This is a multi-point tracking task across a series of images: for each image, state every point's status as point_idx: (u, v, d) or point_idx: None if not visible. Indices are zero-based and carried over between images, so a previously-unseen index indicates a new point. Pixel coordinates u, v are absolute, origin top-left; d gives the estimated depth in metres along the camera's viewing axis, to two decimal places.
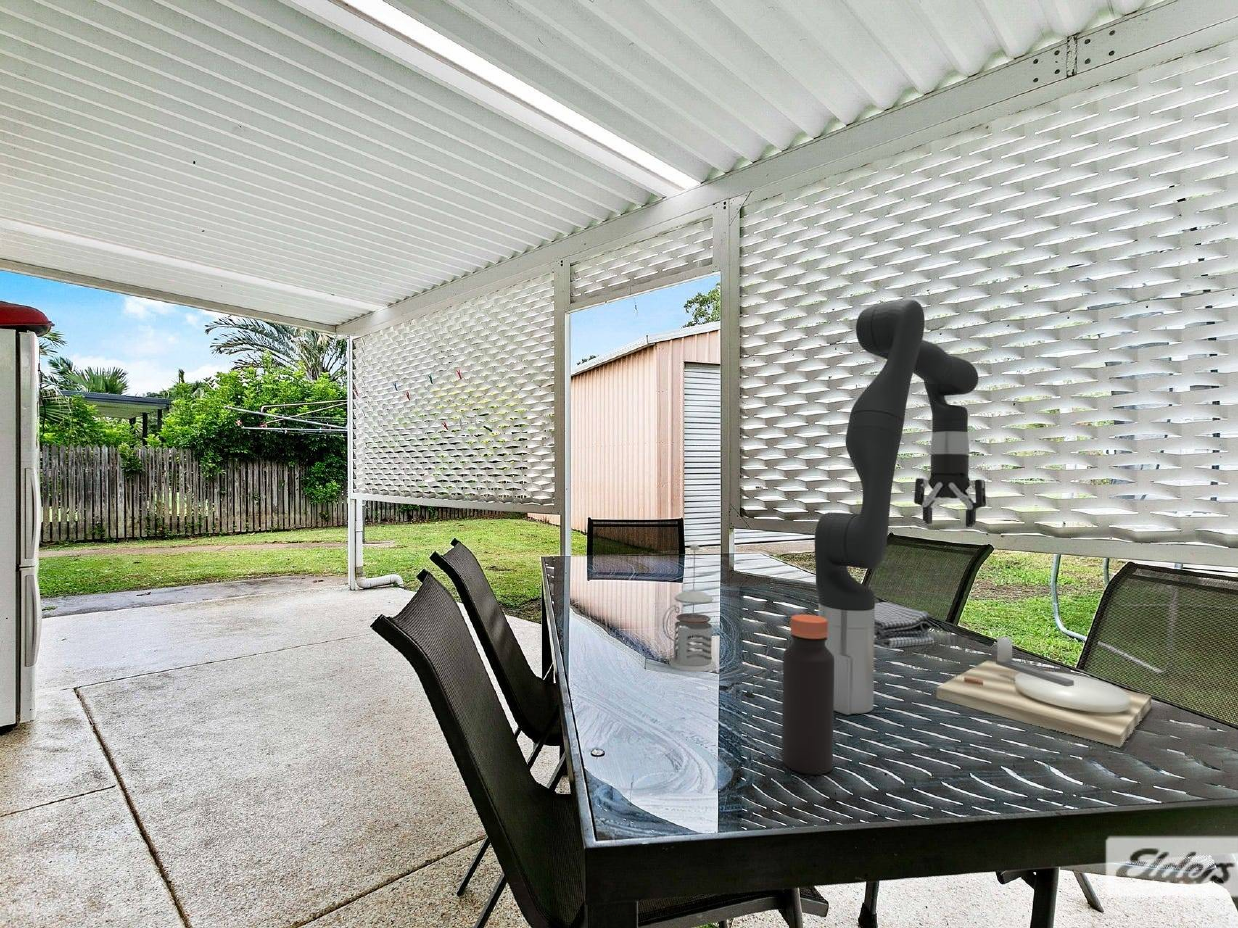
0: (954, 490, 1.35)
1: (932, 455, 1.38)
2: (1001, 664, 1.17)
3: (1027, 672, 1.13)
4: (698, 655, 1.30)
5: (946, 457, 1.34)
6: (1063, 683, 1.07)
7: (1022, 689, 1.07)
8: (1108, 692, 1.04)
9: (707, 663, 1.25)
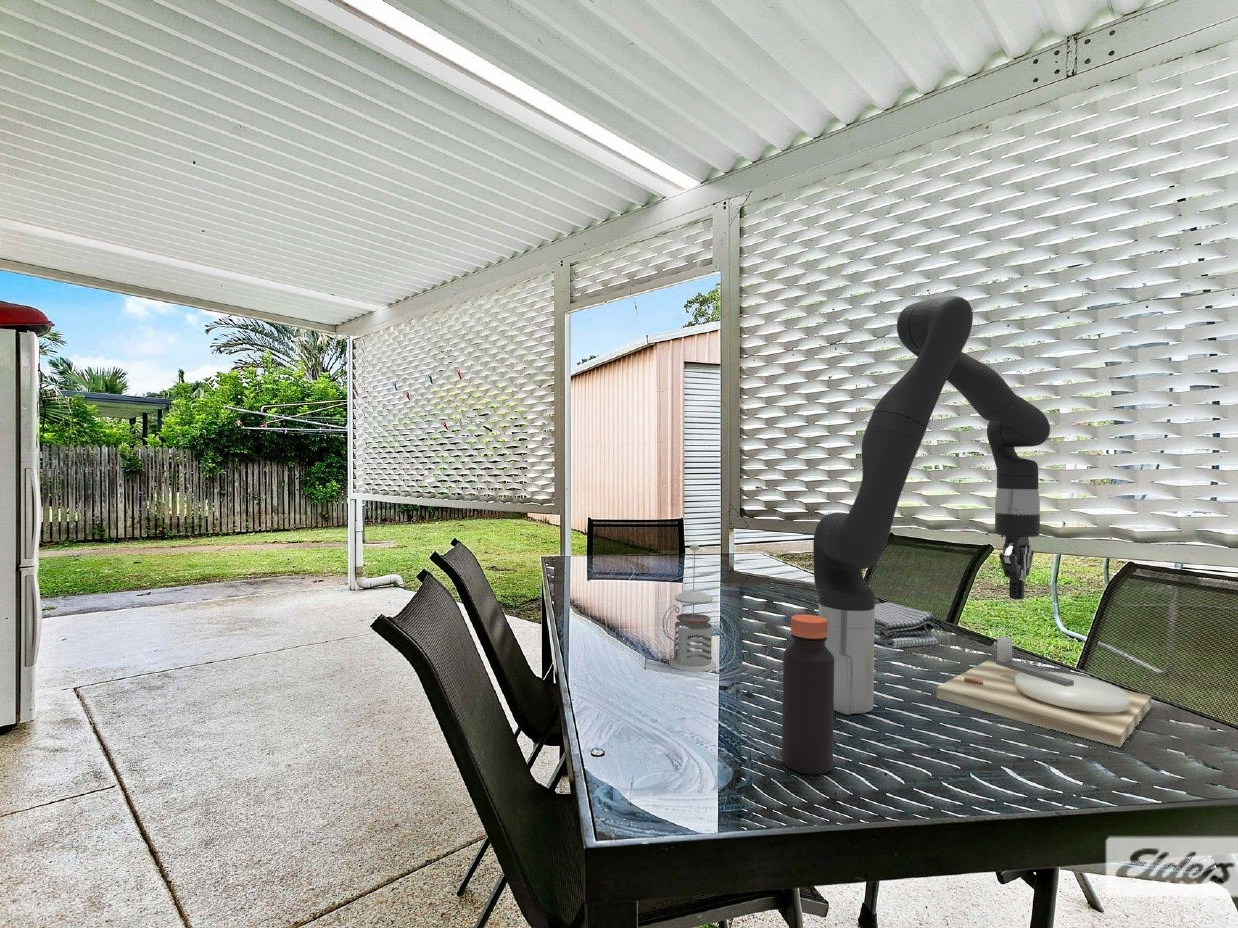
0: (1028, 554, 1.22)
1: (1028, 516, 1.19)
2: (1001, 664, 1.17)
3: (1027, 672, 1.13)
4: (698, 655, 1.30)
5: (1039, 518, 1.20)
6: (1063, 683, 1.07)
7: (1022, 689, 1.07)
8: (1108, 692, 1.04)
9: (707, 663, 1.25)
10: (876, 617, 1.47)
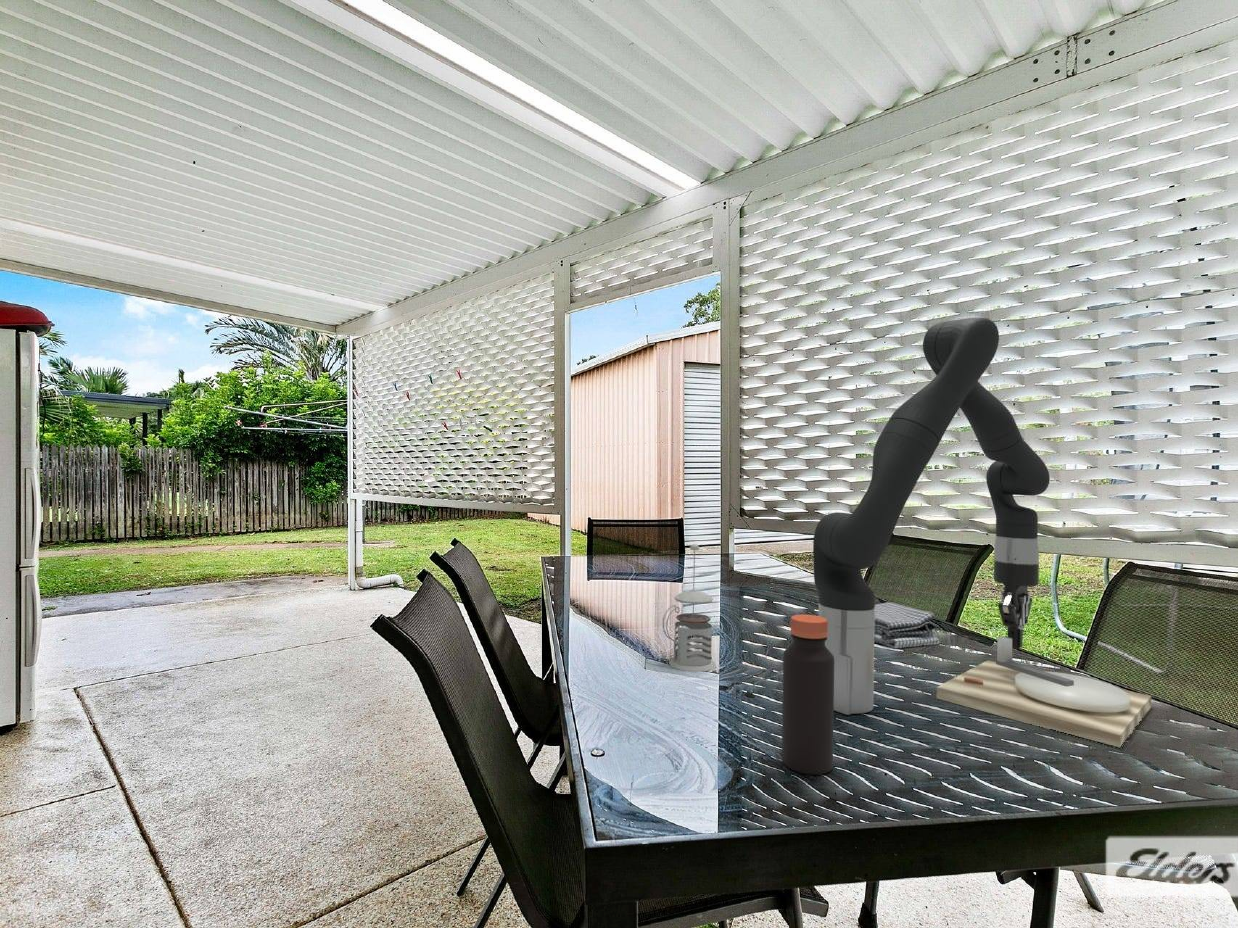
0: (1027, 603, 1.21)
1: (1027, 565, 1.19)
2: (1001, 664, 1.17)
3: (1027, 672, 1.13)
4: (698, 655, 1.30)
5: (1038, 567, 1.20)
6: (1063, 683, 1.07)
7: (1022, 689, 1.07)
8: (1108, 692, 1.04)
9: (707, 663, 1.25)
10: (878, 617, 1.47)
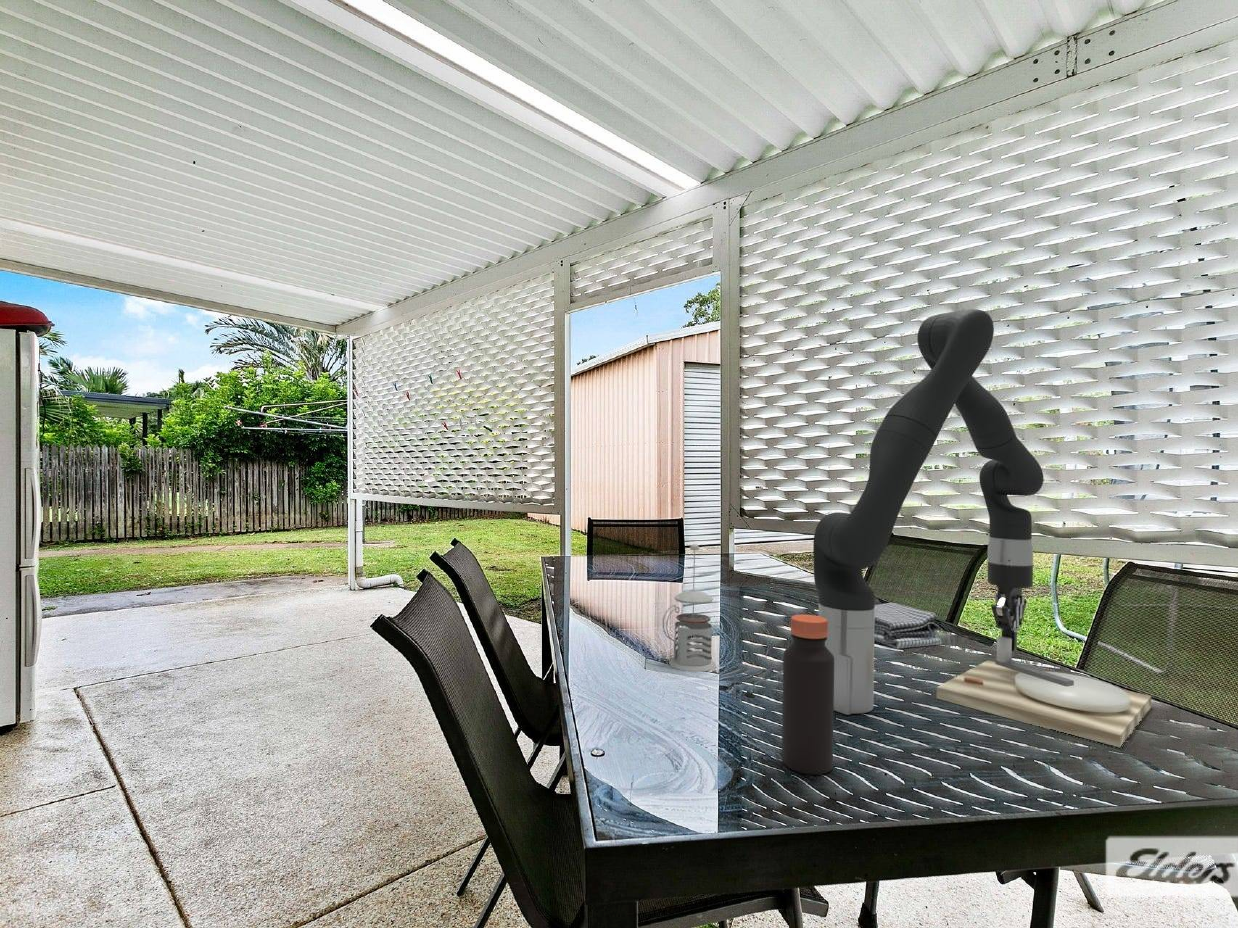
0: (1021, 604, 1.20)
1: (1021, 567, 1.17)
2: (1001, 664, 1.17)
3: (1027, 672, 1.13)
4: (698, 655, 1.30)
5: (1032, 569, 1.18)
6: (1063, 683, 1.07)
7: (1022, 689, 1.07)
8: (1108, 692, 1.04)
9: (707, 663, 1.25)
10: (880, 617, 1.47)
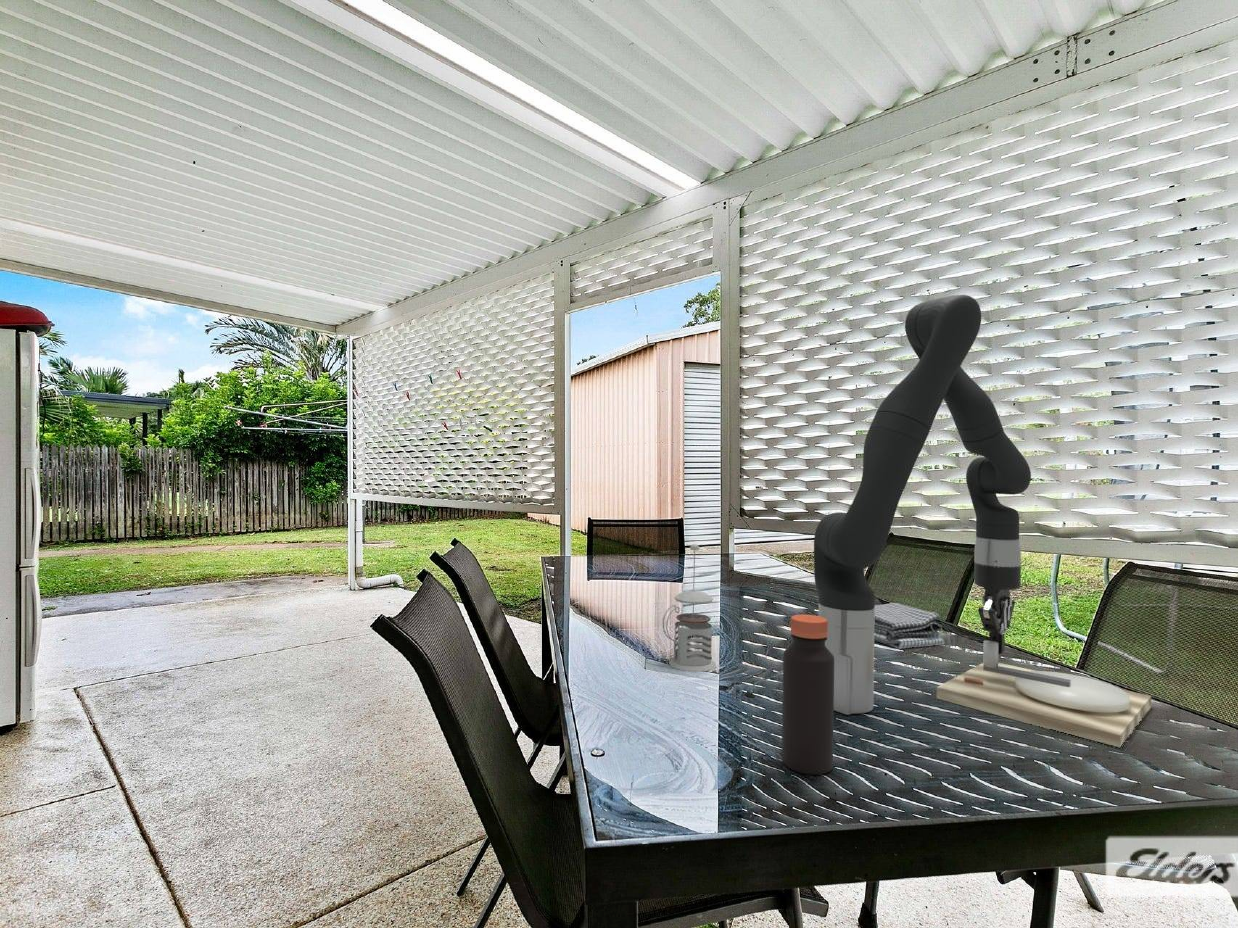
0: (1009, 606, 1.16)
1: (1008, 568, 1.13)
2: (990, 670, 1.14)
3: (1022, 676, 1.10)
4: (698, 655, 1.30)
5: (1020, 569, 1.15)
6: (1066, 684, 1.06)
7: (1041, 697, 1.03)
8: (1102, 687, 1.06)
9: (707, 663, 1.25)
10: (882, 617, 1.47)
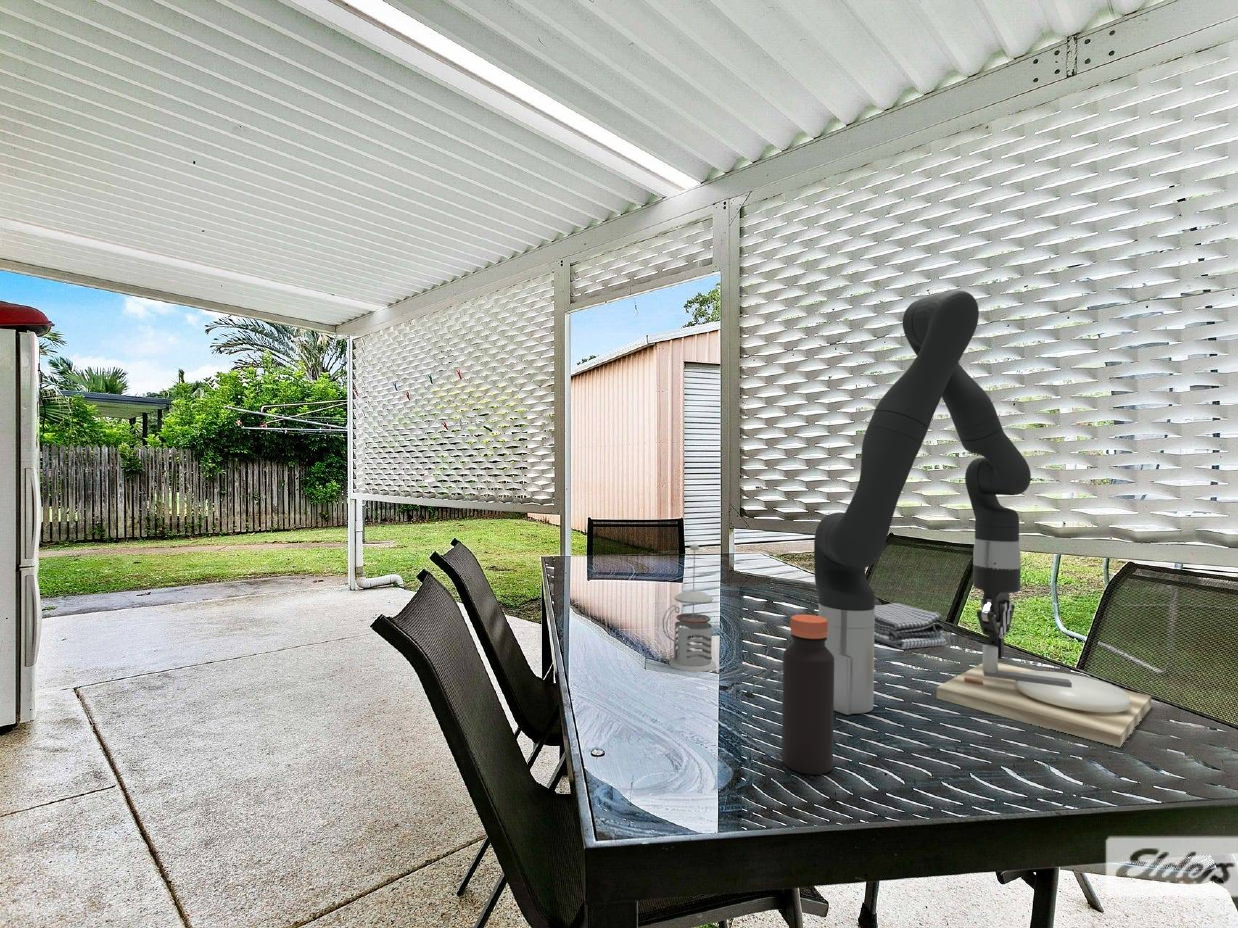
0: (1008, 610, 1.14)
1: (1008, 570, 1.11)
2: (991, 675, 1.11)
3: (1024, 679, 1.09)
4: (698, 655, 1.30)
5: None
6: (1068, 685, 1.06)
7: (1057, 701, 1.01)
8: (1095, 684, 1.08)
9: (707, 663, 1.25)
10: (885, 618, 1.47)
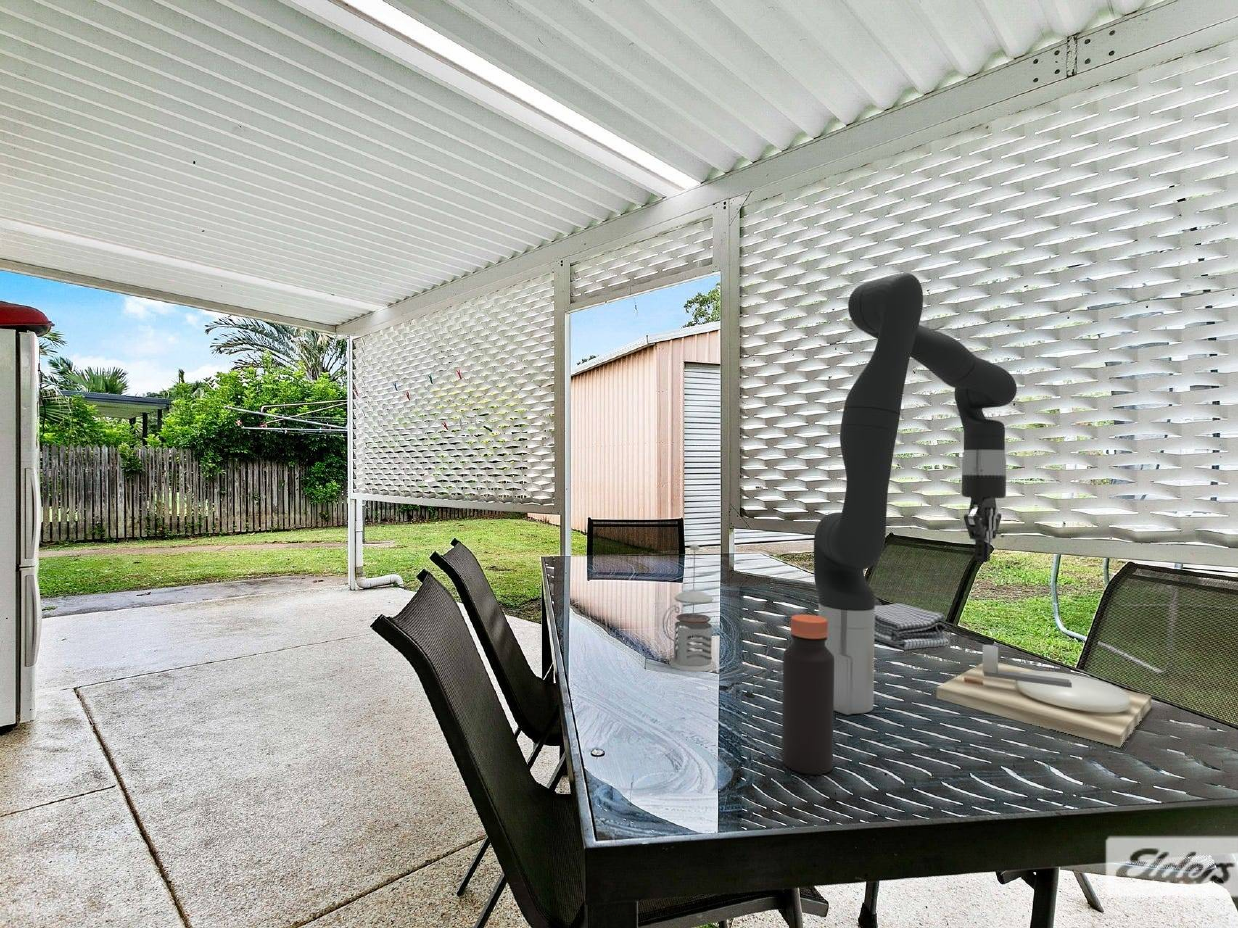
0: (994, 516, 1.20)
1: (993, 476, 1.17)
2: (991, 675, 1.11)
3: (1024, 679, 1.09)
4: (698, 655, 1.30)
5: (1005, 479, 1.19)
6: (1068, 685, 1.06)
7: (1057, 701, 1.01)
8: (1095, 684, 1.08)
9: (707, 663, 1.25)
10: (887, 618, 1.47)
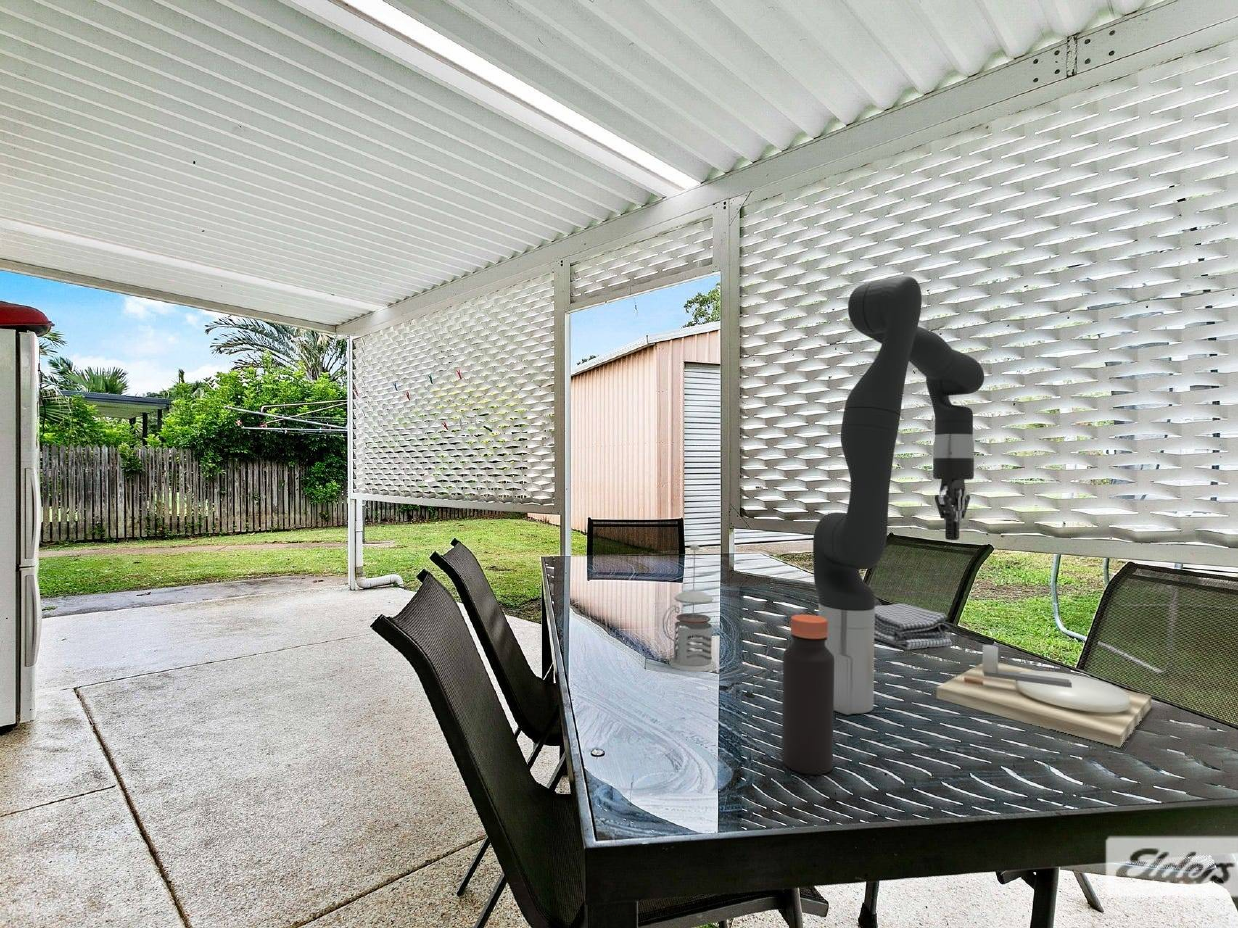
0: (963, 497, 1.28)
1: (962, 459, 1.25)
2: (991, 675, 1.11)
3: (1024, 679, 1.09)
4: (698, 655, 1.30)
5: (973, 462, 1.26)
6: (1068, 685, 1.06)
7: (1057, 701, 1.01)
8: (1095, 684, 1.08)
9: (707, 663, 1.25)
10: (890, 618, 1.46)
